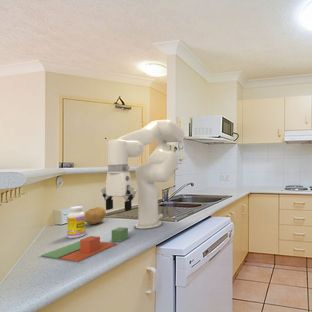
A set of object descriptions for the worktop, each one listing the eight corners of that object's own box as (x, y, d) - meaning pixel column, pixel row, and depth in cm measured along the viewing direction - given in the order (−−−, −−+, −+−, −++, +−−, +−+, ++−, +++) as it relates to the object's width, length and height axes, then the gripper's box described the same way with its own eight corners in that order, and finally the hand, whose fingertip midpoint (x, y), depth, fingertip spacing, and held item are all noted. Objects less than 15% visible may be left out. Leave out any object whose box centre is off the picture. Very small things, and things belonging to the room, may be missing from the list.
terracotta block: (90, 247, 88) (90, 235, 88) (99, 248, 87) (99, 236, 87) (80, 252, 84) (79, 239, 84) (89, 253, 82) (89, 240, 82)
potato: (76, 228, 116) (76, 212, 116) (91, 220, 130) (91, 206, 130) (97, 227, 117) (97, 211, 117) (109, 220, 131) (109, 205, 131)
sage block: (119, 237, 100) (119, 227, 100) (128, 238, 99) (127, 227, 99) (111, 240, 96) (111, 230, 96) (120, 241, 95) (120, 231, 95)
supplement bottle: (76, 238, 99) (75, 208, 100) (63, 238, 101) (63, 208, 101) (89, 234, 106) (88, 205, 106) (76, 233, 107) (76, 205, 107)
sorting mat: (83, 240, 97) (83, 239, 97) (116, 244, 92) (116, 243, 92) (41, 256, 81) (41, 254, 82) (78, 261, 76) (78, 260, 76)
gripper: (141, 168, 98) (142, 209, 98) (109, 168, 104) (109, 207, 103) (128, 169, 91) (129, 213, 91) (94, 169, 96) (94, 210, 96)
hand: (118, 209), depth 97 cm, fingers open, 9 cm apart
